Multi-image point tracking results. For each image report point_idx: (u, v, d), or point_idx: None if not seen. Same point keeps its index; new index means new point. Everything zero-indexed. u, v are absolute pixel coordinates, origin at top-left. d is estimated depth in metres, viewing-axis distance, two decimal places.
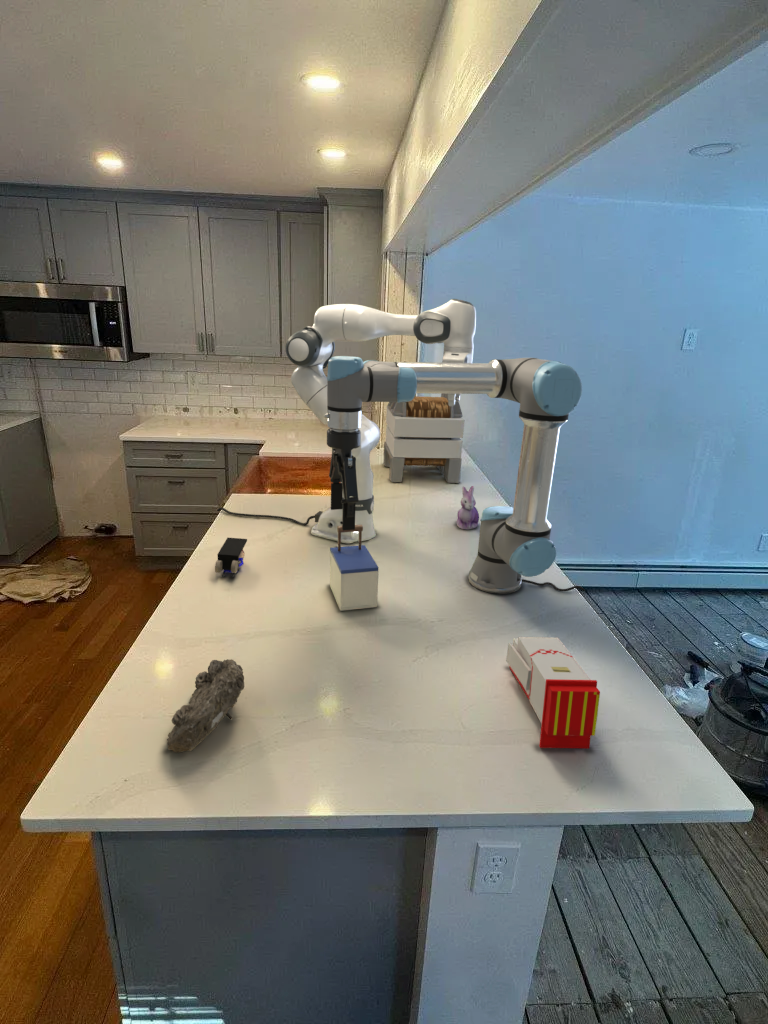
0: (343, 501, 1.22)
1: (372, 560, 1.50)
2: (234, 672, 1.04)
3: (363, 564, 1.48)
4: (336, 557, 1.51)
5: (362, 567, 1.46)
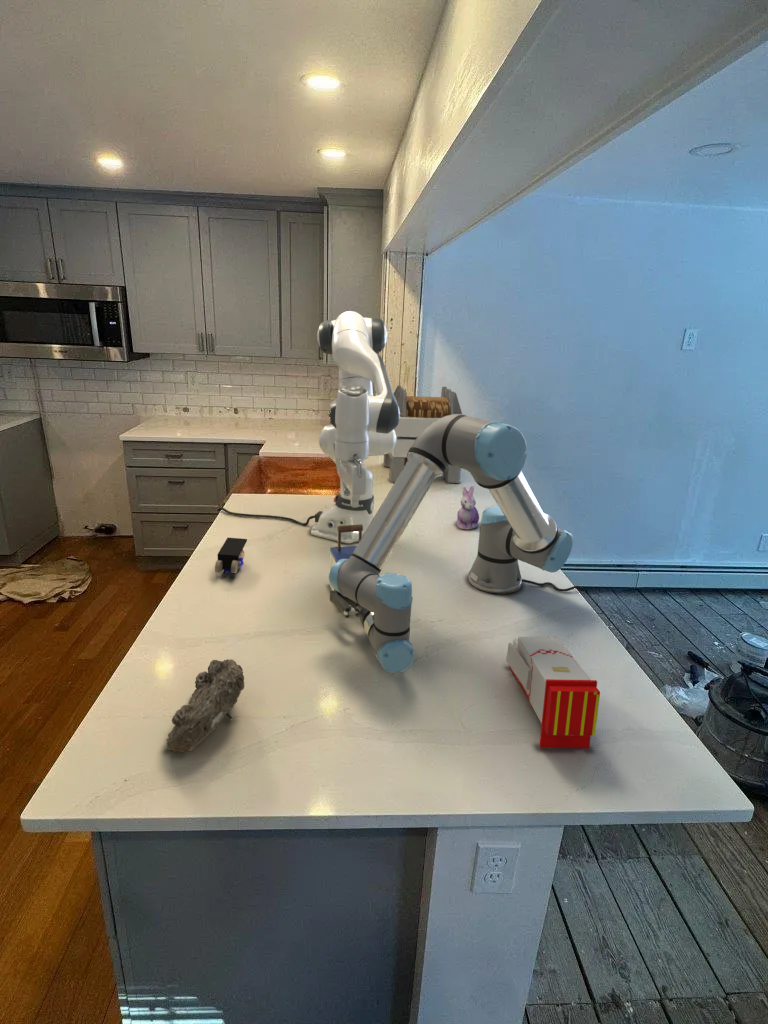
0: None
1: None
2: (234, 672, 1.04)
3: None
4: (336, 557, 1.51)
5: None
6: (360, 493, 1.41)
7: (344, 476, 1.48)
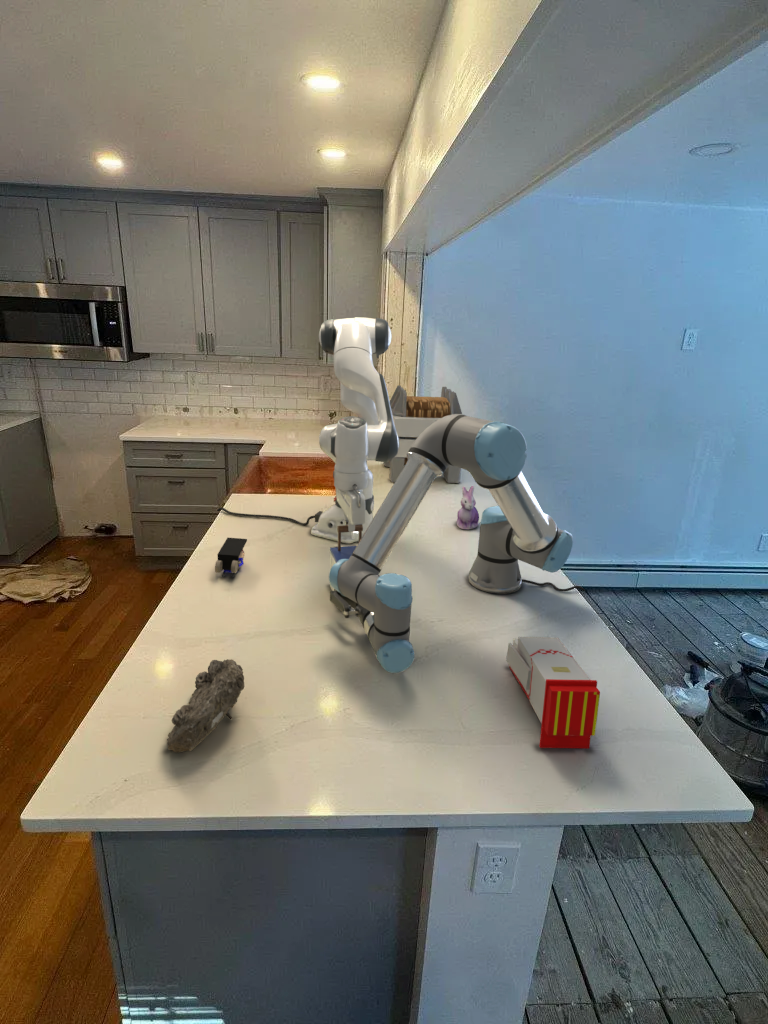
0: None
1: None
2: (234, 672, 1.04)
3: None
4: (336, 557, 1.51)
5: None
6: (359, 523, 1.44)
7: (343, 505, 1.51)
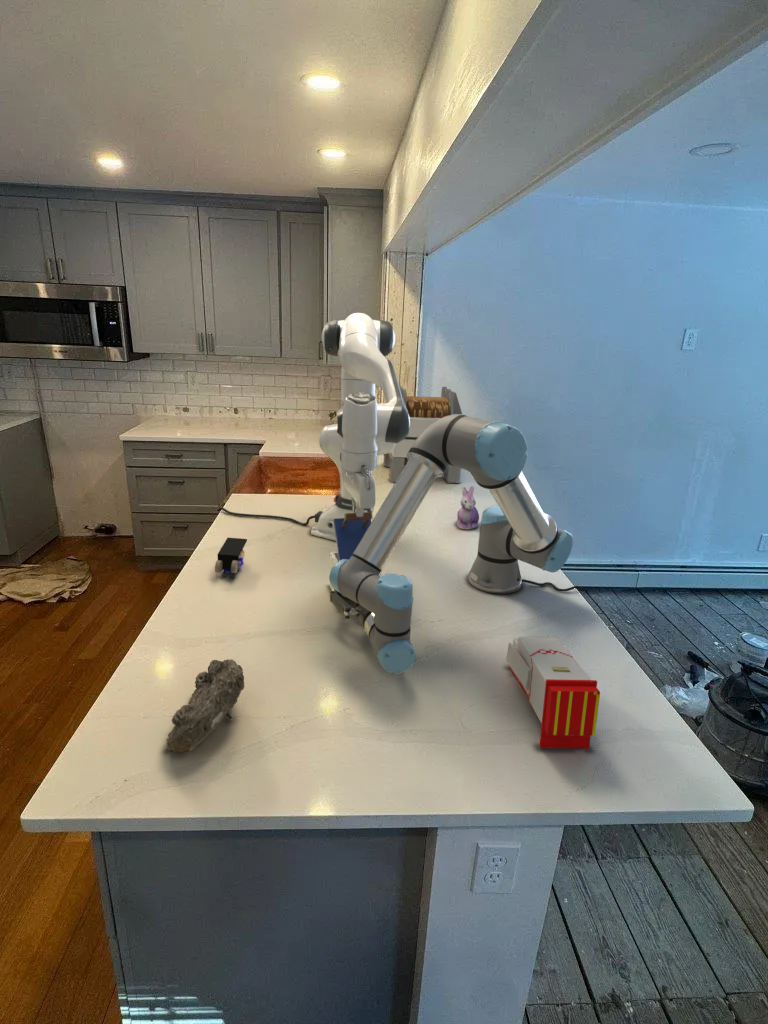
0: None
1: None
2: (234, 672, 1.04)
3: None
4: (339, 542, 1.47)
5: None
6: (369, 506, 1.33)
7: (351, 488, 1.41)
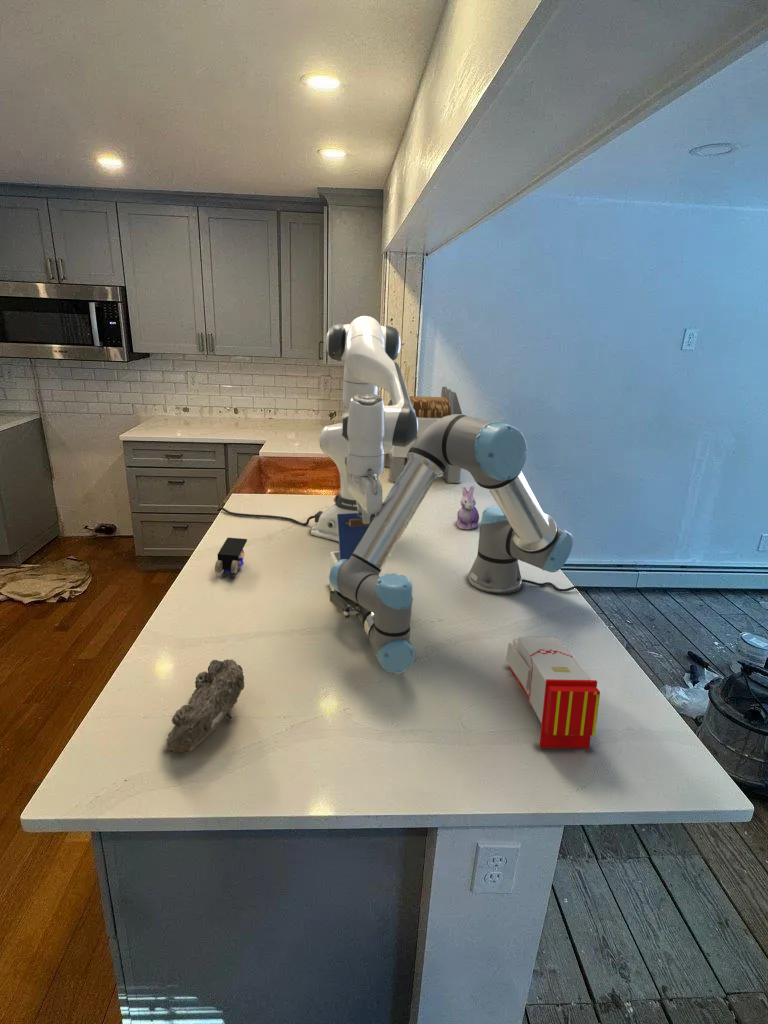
0: None
1: None
2: (234, 672, 1.04)
3: None
4: (341, 541, 1.44)
5: None
6: (375, 512, 1.27)
7: (357, 493, 1.35)
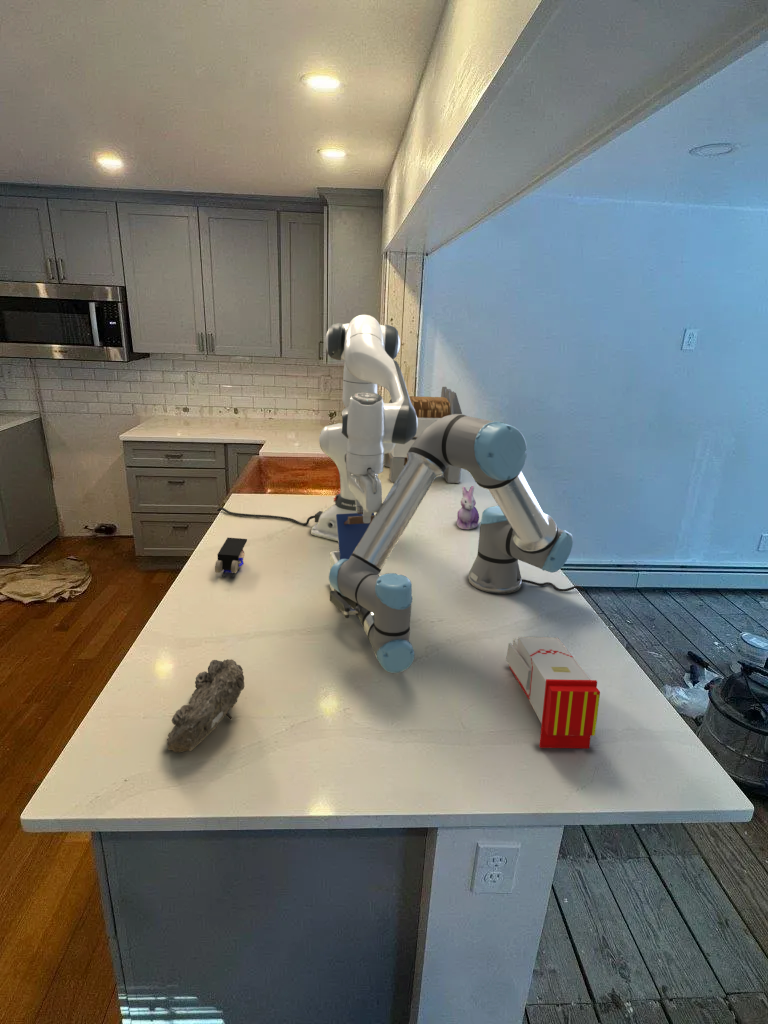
0: None
1: None
2: (234, 672, 1.04)
3: None
4: (340, 540, 1.45)
5: None
6: (375, 511, 1.28)
7: (356, 491, 1.36)
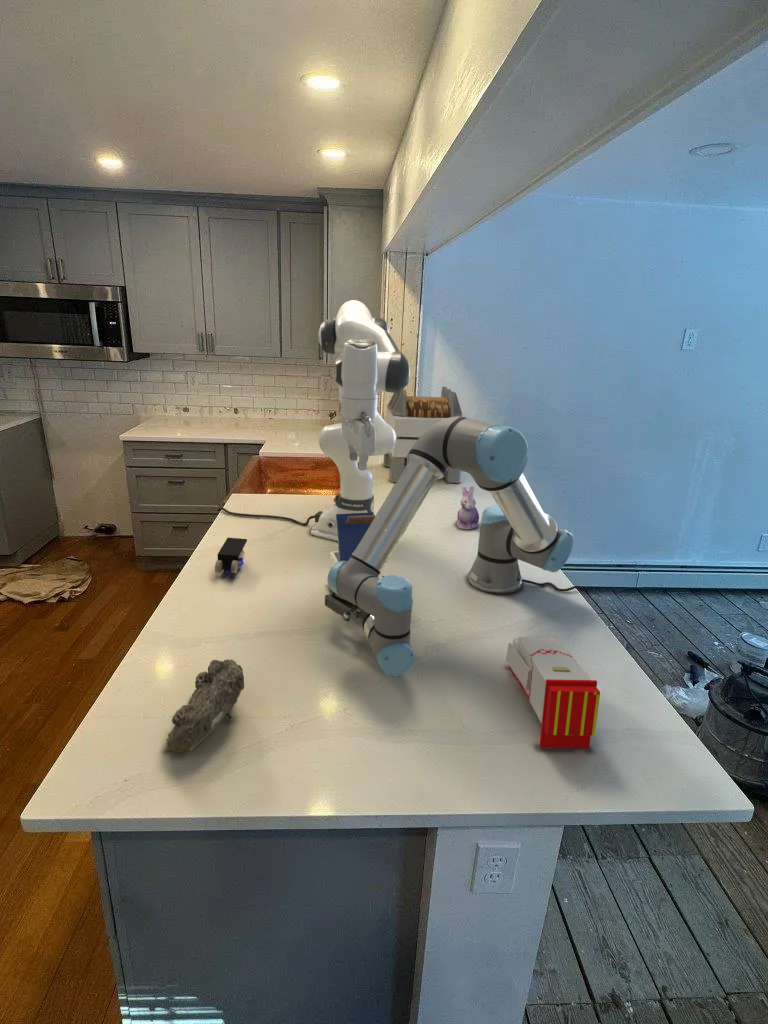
0: None
1: None
2: (234, 672, 1.04)
3: None
4: (340, 540, 1.45)
5: None
6: (368, 453, 1.31)
7: (351, 437, 1.38)
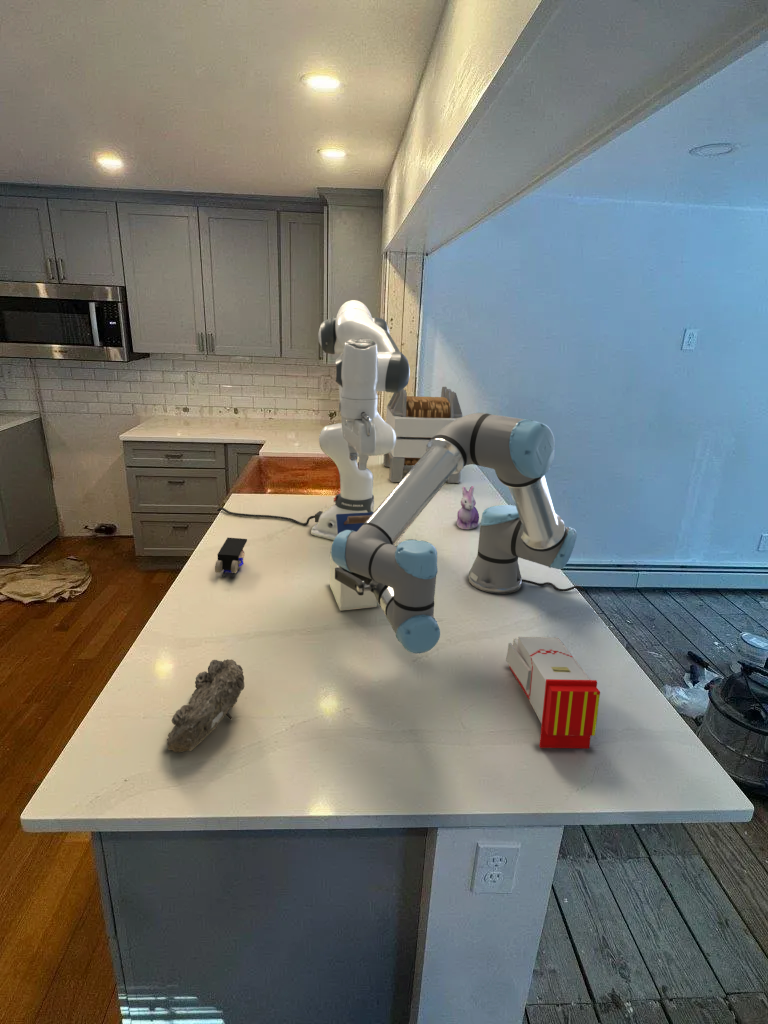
0: None
1: None
2: (234, 672, 1.04)
3: None
4: None
5: None
6: (368, 453, 1.31)
7: (351, 437, 1.38)
